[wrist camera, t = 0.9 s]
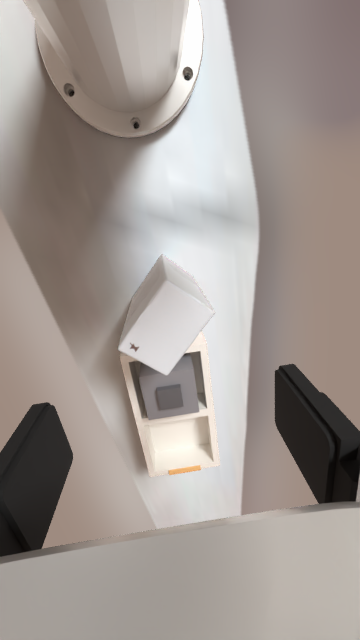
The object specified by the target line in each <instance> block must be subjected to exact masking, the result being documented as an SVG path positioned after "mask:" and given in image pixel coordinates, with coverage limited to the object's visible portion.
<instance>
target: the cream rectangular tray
mask: <svg viewBox="0 0 360 640" xmlns="http://www.w3.org/2000/svg"><path fill="white" fill-rule="evenodd" d="M185 353H190V354H191V359H192V364H193V368H194V375H195V382H196V390H197V397H198V405H199V412H198V413H191V414H185V415H179V416H172V417H166V418H160V419H154V420H148V415H147V411H146V407H145V402H144V398H143V394H142V389H141V385H140V381H139V371H140V363H141V362H140V361H138V360H136V359H134V358H132V357H130V356H128V355H126V354H124V353H123V352H121V353H120V356H119V358H120V362H121V365H122V369H123V373H124V377H125V381H126V385H127V389H128V393H129V397H130V401H131V405H132V409H133V413H134V417H135V421H136V425H137V428H138V432H139V436H140V440H141V444H142V448H143V452H144V456H145V460H146V464H147V468H148V472H149V476H150V477H153V476H159V475H166V474H169V475H173V474H179V473H185V472H191V471H197V470H201V469H202V468H209V467H215V466H220V459H219V450H218V441H217V432H216V423H215V414H214V404H213V395H212V386H211V377H210V368H209V359H208V350H207V343H206V340H205V337H204V334H203V332H202V331H201V332H200V333H199V335H198V336H197V337H196V339H195V340H194V341H193V343H192V344H191V345H190V347H189V348H188V350H187V351H186V352H185Z"/></svg>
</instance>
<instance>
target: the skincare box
mask: <svg viewBox="0 0 360 640" xmlns="http://www.w3.org/2000/svg"><path fill="white" fill-rule="evenodd" d="M214 314H215V311H214V310H213V308H212V306H211V305H210V303H209V301H208V300H207V298H206V296H205V295H204V293H203V292H202V290H201V288H200V287H199V285H198V284H197V282H196V280H195V279H194V277H193V276H192V275H191V274H190V273H188V272H187V271H185V270H184V269H183V268H181V267H180V266H178V265H177V264H176V263H174V262H173V261H171V260H170V259H169V258H167V257H166V256H164V255H163V254H162V255H160V257H159V258H158V260H157V261H156V263H155V264H154V266H153V267H152V269H151V270H150V272H149V273H148V275H147V276H146V278H145V279H144V281H143V282H142V284H141V286H140V287H139V289H138V290H137V292H136V293H135V295H134V296H133V298H132V300H131V303H130V307H129V310H128V314H127V317H126V321H125V324H124V327H123V331H122V334H121V337H120V341H119V345H118V350H119V351H121V352H123V353H124V354H126V355H128V356H130V357H132V358H134V359H136V360H138V361H140V362H142V363H144V364H146V365H147V366H149V367H151V368H153V369H155V370H157V371H159V372H160V373H162V374H164V375H168V374H169V373H170V372H171V370H172V369H173V368H174V367H175V365H176V364H177V363H178V361H179V360H180V359H181V357H182V356H183V355H184V353H185V352H186V351H187V350H188V348H189V347H190V345H191V344H192V343H193V341H194V340H195V339H196V337H197V336H198V335H199V333H200V332H201V331H202V329H203V328H204V327H205V325H206V324H207V323H208V321H209V320H210V319H211V318H212V316H213V315H214Z"/></svg>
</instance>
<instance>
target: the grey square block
mask: <svg viewBox="0 0 360 640" xmlns="http://www.w3.org/2000/svg"><path fill="white" fill-rule="evenodd" d="M139 381H140V385H141V389H142V394H143V398H144V402H145V407H146V411H147V415H148V420H154V419H160V418H166V417H172V416H179V415H185V414H191V413H198V412H199V405H198V397H197V390H196V382H195V375H194V368H193V364H192V359H191V354H190V353H184V355H183V356H182V357H181V359H180V360H179V361H178V363H177V364H176V365H175V367H174V368H173V369H172V370H171V372H170V373H169V374H168V375H164V374H162V373H160V372H159V371H157V370H155V369H153V368H151V367H149V366H147V365H146V364H144V363H142V362H141V363H140V371H139Z"/></svg>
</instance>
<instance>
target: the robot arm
mask: <svg viewBox="0 0 360 640" xmlns="http://www.w3.org/2000/svg"><path fill="white" fill-rule="evenodd" d="M23 1H24V3H25V4H26V6H27V7H28V9H29V10H30V12H31V14H32V15H33V17H34V18H35V29H36V35H37V40H38V46H39V50H40V53H41V56H42V59H43V62H44V65H45V68H46V70H47V72H48V74H49V76H50V78H51V80H52V82H53V84H54V86H55V88H56V89H57V90H58V92H59V93H60V95H61V96H62V98H63V99H64V100H65V102H66V103H67V104H68V105H69V106H70V107H71V109H72V110H73V111H74V112H75V113H76V114H77V115H78V116H80V117H81V118H82V119H83V120H84V121H85V122H86V123H88V124H90V125H91V126H93V127H95V128H96V129H98V130H100V131H102V132H105V133H108V134H110V135H113V136H119V137H126V138H131V137H142V136H145V135H148V134H151V133H154V132H156V131H158V130H160V129H161V128H163V127H165V126H166V125H168V124H169V123H170V122H171V121H172V120H173V119H174V118H175V117H176V116H177V115H178V114H179V113H180V111H181V110H182V109H183V107H184V106H185V105H186V103H187V101H188V99H189V97H190V95H191V93H192V91H193V89H194V87H195V83H196V80H197V77H198V74H199V69H200V65H201V60H202V53H203V38H204V35H203V22H202V13H201V9H200V4H199V0H23ZM186 75H187V76H189V78H190V80H189V81H187V80H185V79H184V76H186ZM71 91H74V92H75V94H74V96H72V97H70V92H71ZM135 123H138V124H139V128H138V129H135V128H134V127H133V125H134V124H135ZM275 423H276V426H277V429H278V431H279V432H280V434H281V436H282V438H283V440H284V442H285V443H286V445H287V447H288V449H289V451H290V452H291V454H292V456H293V458H294V460H295V461H296V463H297V465H298V467H299V469H300V471H301V472H302V474H303V476H304V478H305V480H306V481H307V483H308V485H309V487H310V489H311V490H312V492H313V494H314V496H315V498H316V500H317V501H318V503H319V504H315V505H308V506H301V507H294V508H287V509H280V510H273V511H267V512H260V513H254V514H248V515H241V516H235V517H229V518H223V519H216V520H210V521H204V522H198V523H192V524H186V525H180V526H173V527H167V528H161V529H155V530H150V531H143V532H137V533H131V534H125V535H119V536H114V537H108V538H102V539H96V540H90V541H84V542H79V543H73V544H67V545H61V546H55V547H50V548H44V549H42V546H43V543H44V540H45V537H46V534H47V532H48V529H49V526H50V523H51V520H52V518H53V515H54V511H55V509H56V506H57V503H58V500H59V498H60V495H61V492H62V489H63V486H64V484H65V481H66V478H67V475H68V472H69V469H70V467H71V464H72V460H73V453H72V450H71V448H70V445H69V442H68V440H67V437H66V434H65V432H64V429H63V427H62V424H61V422H60V419H59V416H58V414H57V411H56V409H55V407H54V406H53V405H50V404H49V403H41V404H34V405H32V406H31V408H30V409H29V411H28V412H27V414H26V415H25V417H24V418H23V420H22V421H21V423H20V424H19V426H18V427H17V429H16V430H15V432H14V433H13V435H12V436H11V438H10V439H9V441H8V442H7V444H6V445H5V446H4V448H3V450H2V451H1V452H0V640H360V431H359V430H358V429H357V428H356V427H355V426H354V425H353V424H352V423H351V421H350V420H348V418H347V417H346V416H345V415H344V414H343V413H342V412H341V411H340V410H339V408H338V407H337V406H336V405H335V404H334V403H333V402H332V401H331V400H330V399H329V398H328V397H327V395H325V394H324V393H321V392H319V391H318V390H317V389H316V388H315V387H314V385H312V383H311V382H310V381H309V380H308V379H307V378H306V377H305V376H304V374H303V373H302V372H301V371H300V370H299V369H298V368H297V367H296V366H295V365H294V364H289V365H283V366H279V370H276V371H275Z"/></svg>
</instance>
